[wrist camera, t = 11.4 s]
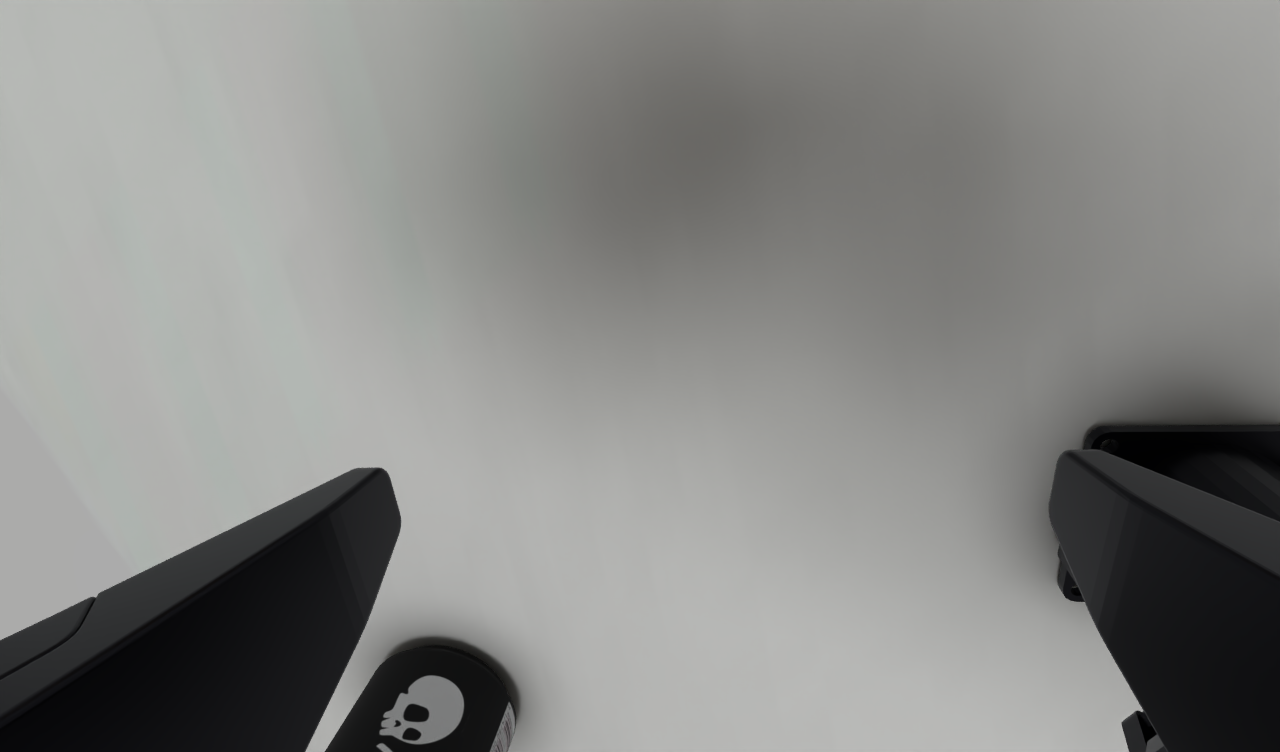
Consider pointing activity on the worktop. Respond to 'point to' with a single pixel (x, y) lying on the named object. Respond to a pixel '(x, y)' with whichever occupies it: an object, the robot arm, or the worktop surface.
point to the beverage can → (430, 706)
